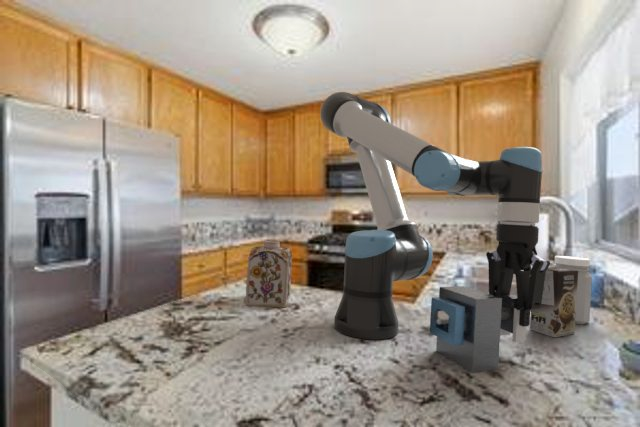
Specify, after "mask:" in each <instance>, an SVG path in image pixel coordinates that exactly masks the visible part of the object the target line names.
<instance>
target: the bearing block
mask: <svg viewBox="0 0 640 427" xmlns="http://www.w3.org/2000/svg"><path fill="white" fill-rule="evenodd" d="M487 293H488V292H483V291H480V290H477V289H474V288H470V287H467V286H462V285H460V286H459V285H458V286H456V285H455V286H440V287H439V292H438V294H439V295H438V297H441V298H444V299H446V300H449V301H452V302H454V303H457V304H460V305H462V306H465V319H464V337H463V345H457V346H454V345H452V344H450V343H448V342H446V341H444V340H443V339H441V338H439V337H437V336H436V348H435V350H436V352H437V353H439V354H441V355H443V356H444V357H446V358H448V359H449V360H451V361H452V362H454V363H455V364H457V365H459V366H460V367H462V368H464V369H465V370H467V371H468V372H470V373H481V372H489V371H495V370H499V359H500V341H501V340H500V339H501V335H500V326H501V308H502V298H500V297H497V296H493V295H490V294H487ZM444 326H445V327H447V328H449V324H444Z"/></svg>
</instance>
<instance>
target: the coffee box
mask: <svg viewBox="0 0 640 427" xmlns="http://www.w3.org/2000/svg"><path fill="white" fill-rule="evenodd" d="M577 284H578V271H577V270H571V269H564V268H555V267H554V266H550V267H548V269H547V271H546V274H545V281H544V288H543V295H542V303H541V308H539V309H532V310H531V311H530V324H529V330H530V331H534V332H536V333H539V334H543V335H545V336H547V337H551V338H559V337H563V336H569V335H574V334H575V332H576V324H575V319H576V300H577Z"/></svg>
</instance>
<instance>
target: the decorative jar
mask: <svg viewBox="0 0 640 427" xmlns="http://www.w3.org/2000/svg"><path fill="white" fill-rule="evenodd" d="M280 244H281V243H280V241H278V240H265V241H263V245H262V246H254V247H252V248H251V250H250V252H249V254H248V257H247V259H248V260H247V273H246V286H245V305H246V306H251V307H252V306H253V307H264V308H265V307H268V308H269V307H270V308H286V307H287V305H288V303H289V300H290V297H291V287H292V286H291V281H292V262H293V261H292V260H293V255H292V250H291V249H290V248H288V247H285V246H281V245H280Z"/></svg>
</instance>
